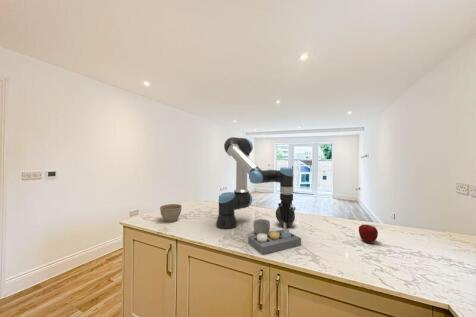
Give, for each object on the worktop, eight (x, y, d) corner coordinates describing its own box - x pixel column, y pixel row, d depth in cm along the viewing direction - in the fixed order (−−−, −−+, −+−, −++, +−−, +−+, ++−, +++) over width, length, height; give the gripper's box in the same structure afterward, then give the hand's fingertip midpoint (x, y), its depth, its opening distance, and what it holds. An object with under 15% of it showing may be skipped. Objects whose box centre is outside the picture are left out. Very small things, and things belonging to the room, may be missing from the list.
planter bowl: (155, 223, 146) (155, 208, 146) (166, 216, 162) (166, 203, 162) (175, 224, 143) (175, 209, 143) (185, 217, 159) (185, 204, 159)
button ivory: (255, 241, 109) (255, 234, 109) (263, 239, 112) (263, 232, 112) (260, 245, 104) (260, 237, 104) (269, 243, 107) (269, 236, 107)
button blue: (279, 239, 117) (279, 232, 117) (286, 237, 119) (286, 231, 119) (285, 242, 112) (285, 236, 112) (292, 241, 114) (293, 234, 114)
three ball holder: (248, 243, 113) (248, 236, 113) (283, 235, 124) (283, 229, 124) (262, 254, 99) (262, 247, 99) (301, 245, 111) (301, 238, 111)
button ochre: (267, 238, 113) (267, 231, 113) (275, 237, 115) (275, 230, 115) (273, 242, 108) (273, 235, 108) (281, 240, 110) (281, 233, 110)
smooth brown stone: (297, 224, 145) (297, 204, 145) (291, 230, 133) (291, 208, 133) (279, 221, 153) (279, 202, 153) (272, 226, 141) (272, 205, 141)
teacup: (269, 237, 121) (269, 224, 121) (252, 235, 123) (252, 223, 123) (270, 229, 135) (270, 217, 135) (254, 228, 137) (254, 216, 137)
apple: (360, 237, 123) (361, 221, 123) (379, 241, 116) (379, 225, 116) (356, 241, 116) (356, 224, 116) (375, 246, 110) (376, 229, 110)
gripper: (274, 192, 120) (274, 230, 120) (289, 195, 108) (288, 238, 108) (284, 191, 123) (284, 228, 123) (299, 194, 111) (299, 236, 111)
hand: (286, 233), depth 115 cm, fingers closed
